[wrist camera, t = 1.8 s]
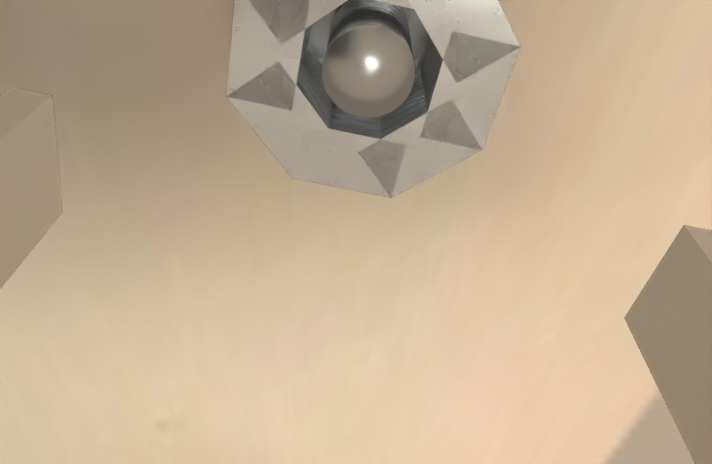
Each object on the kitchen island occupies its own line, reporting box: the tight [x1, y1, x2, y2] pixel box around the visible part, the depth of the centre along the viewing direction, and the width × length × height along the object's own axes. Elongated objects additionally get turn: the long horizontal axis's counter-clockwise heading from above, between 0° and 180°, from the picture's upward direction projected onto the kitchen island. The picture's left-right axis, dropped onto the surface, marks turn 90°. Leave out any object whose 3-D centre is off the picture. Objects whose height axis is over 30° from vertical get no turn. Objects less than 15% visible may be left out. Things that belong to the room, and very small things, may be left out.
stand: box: [308, 0, 430, 118], centre depth 23 cm, size 6×6×9 cm
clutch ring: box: [226, 0, 521, 198], centre depth 21 cm, size 9×9×4 cm
